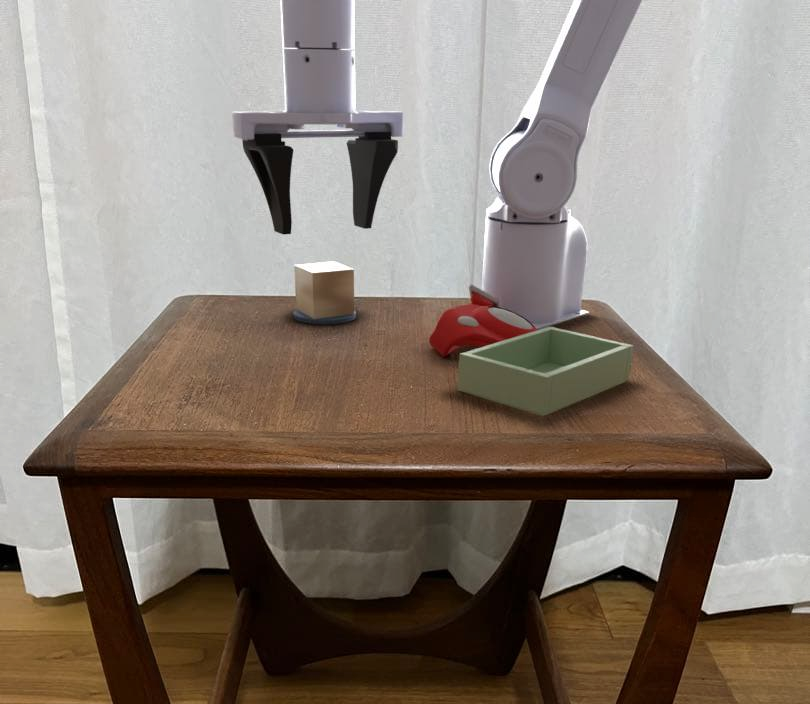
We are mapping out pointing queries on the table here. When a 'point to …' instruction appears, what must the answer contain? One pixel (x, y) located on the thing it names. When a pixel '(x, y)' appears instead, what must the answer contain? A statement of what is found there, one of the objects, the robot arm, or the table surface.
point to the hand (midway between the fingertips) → (323, 229)
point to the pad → (323, 319)
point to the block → (324, 289)
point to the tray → (544, 369)
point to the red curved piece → (477, 324)
